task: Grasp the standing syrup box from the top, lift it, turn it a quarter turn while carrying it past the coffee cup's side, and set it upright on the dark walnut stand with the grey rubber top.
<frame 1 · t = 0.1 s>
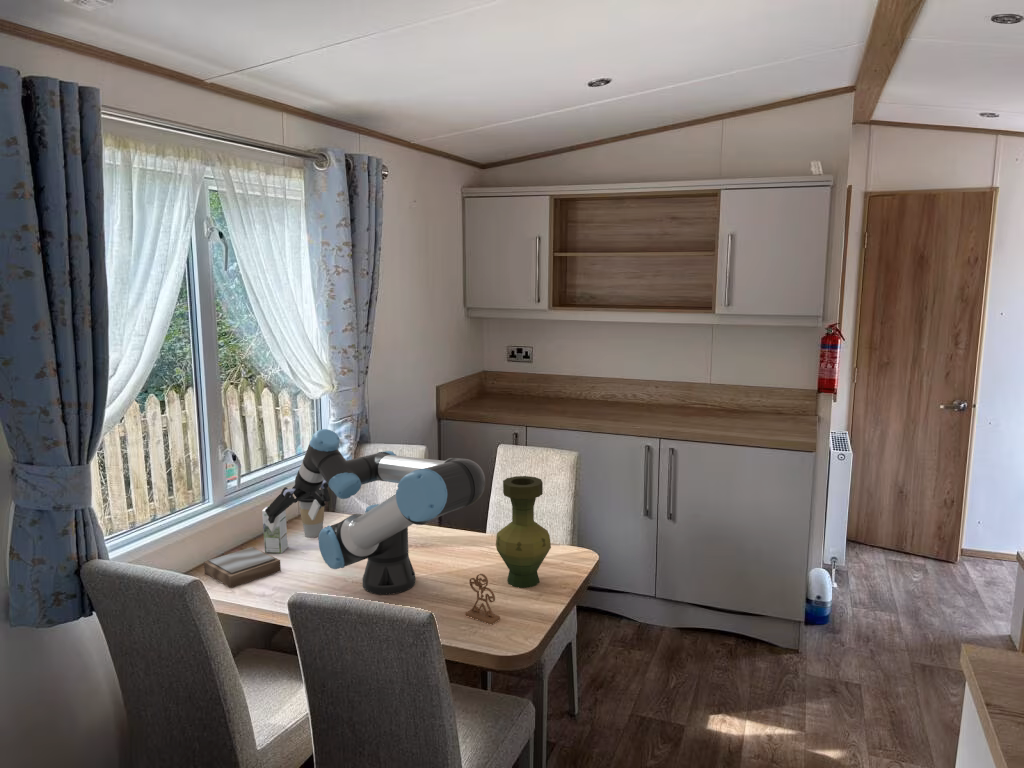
hand: (291, 522, 227), 15 cm above the table, tool tilted 35°, fingers open, 13 cm apart
gingerbread man figurine: (482, 618, 199), on the table
vase: (523, 581, 221), on the table
stand: (242, 571, 229), on the table
coffee cup: (313, 535, 260), on the table
syrup box: (276, 550, 246), on the table
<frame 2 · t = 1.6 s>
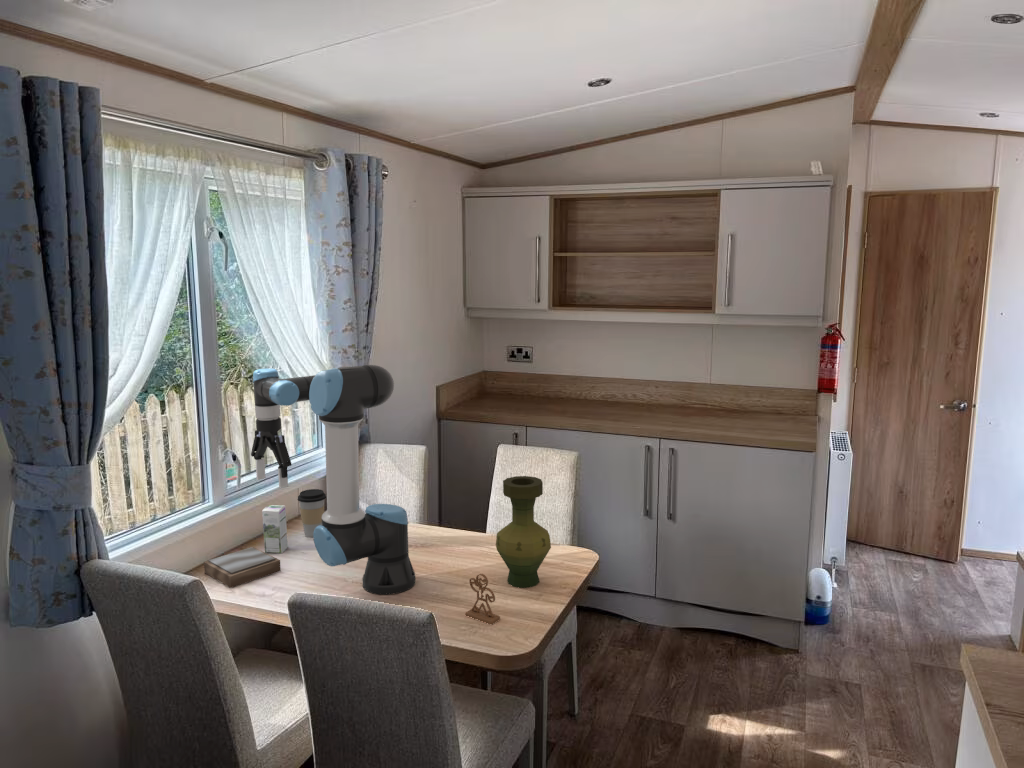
hand: (272, 483, 242), 23 cm above the table, tool pointing down, fingers open, 13 cm apart
nothing on the table moved.
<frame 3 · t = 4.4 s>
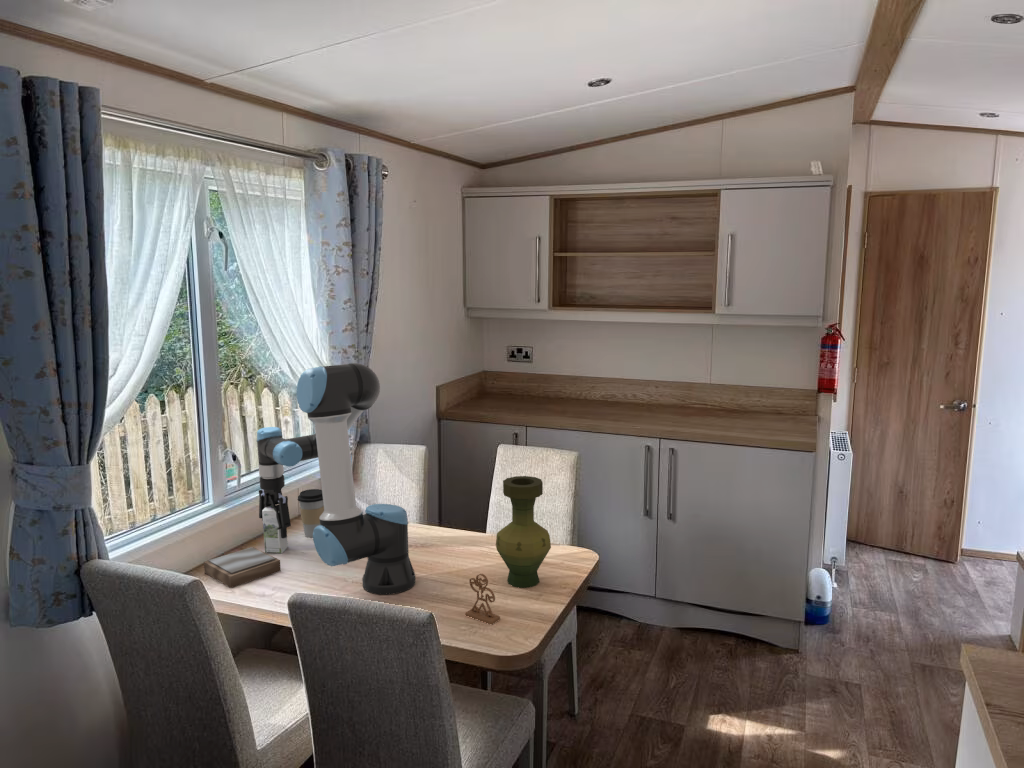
hand: (276, 543, 246), 2 cm above the table, tool pointing down, fingers closed on syrup box, 8 cm apart
syrup box: (276, 550, 246), on the table, touching gripper
everything else where it was.
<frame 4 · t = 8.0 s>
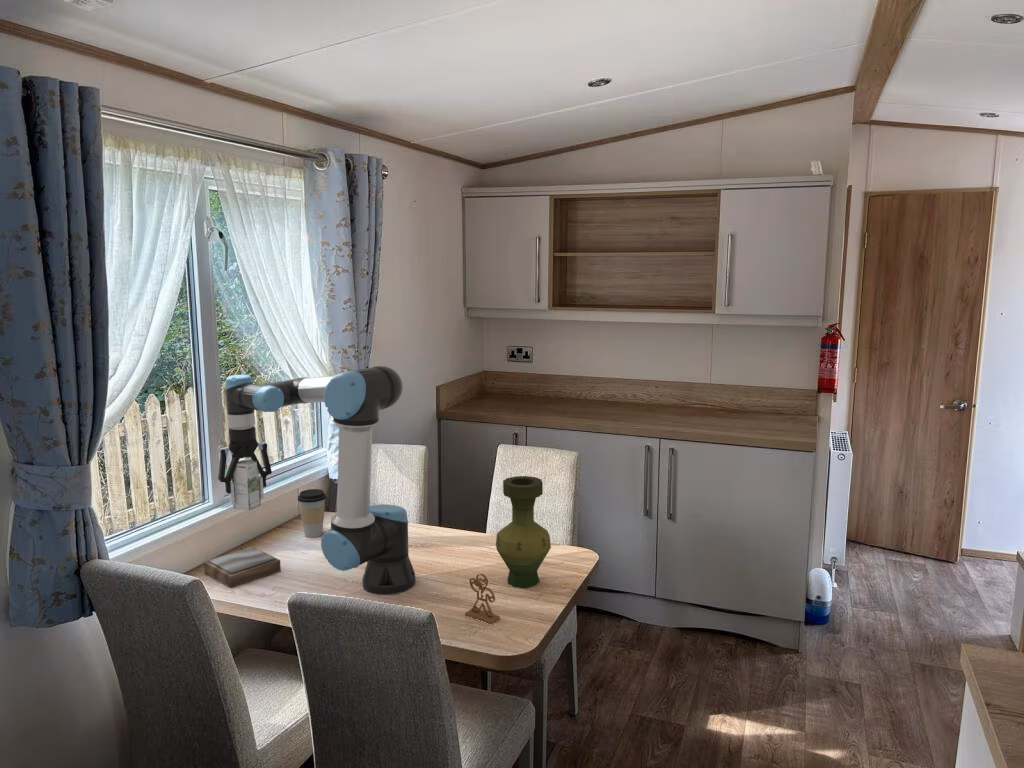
hand: (247, 500, 230), 21 cm above the table, tool pointing down, fingers closed on syrup box, 8 cm apart
syrup box: (247, 508, 230), point 19 cm above the table, touching gripper
everything else where it was.
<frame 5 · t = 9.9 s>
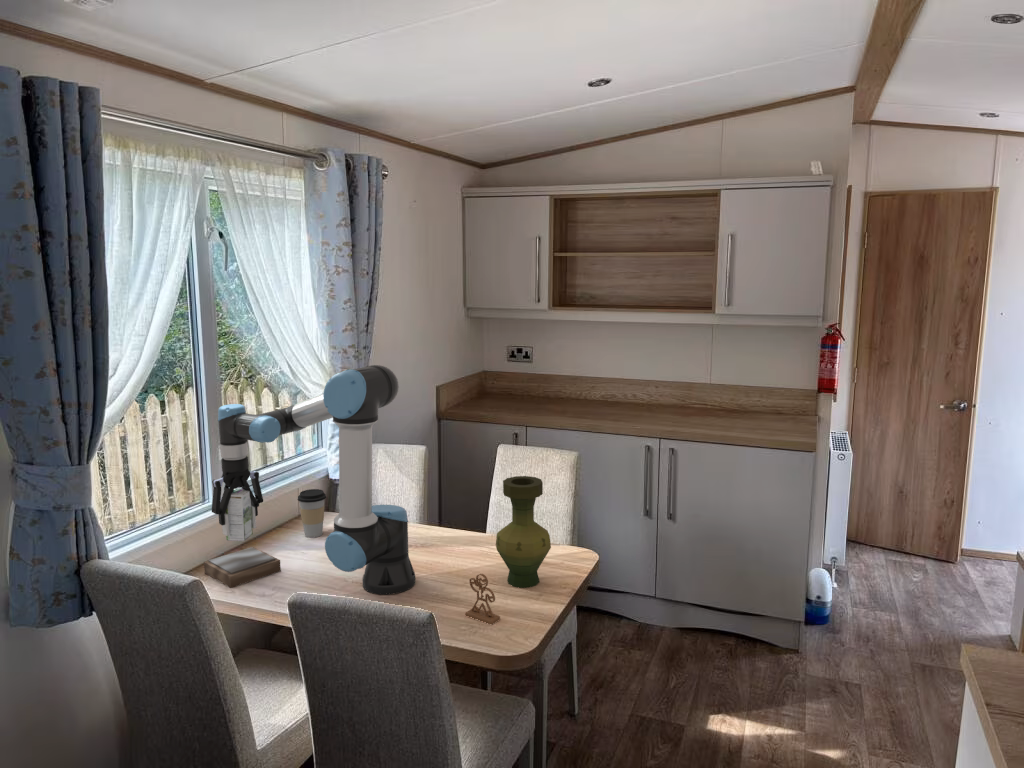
hand: (239, 530, 227), 13 cm above the table, tool pointing down, fingers closed on syrup box, 8 cm apart
syrup box: (240, 538, 227), point 11 cm above the table, touching gripper
everything else where it was.
when the fingers open (8 cm above the table, at t = 11.7 s): syrup box drops 1 cm, resting on stand.
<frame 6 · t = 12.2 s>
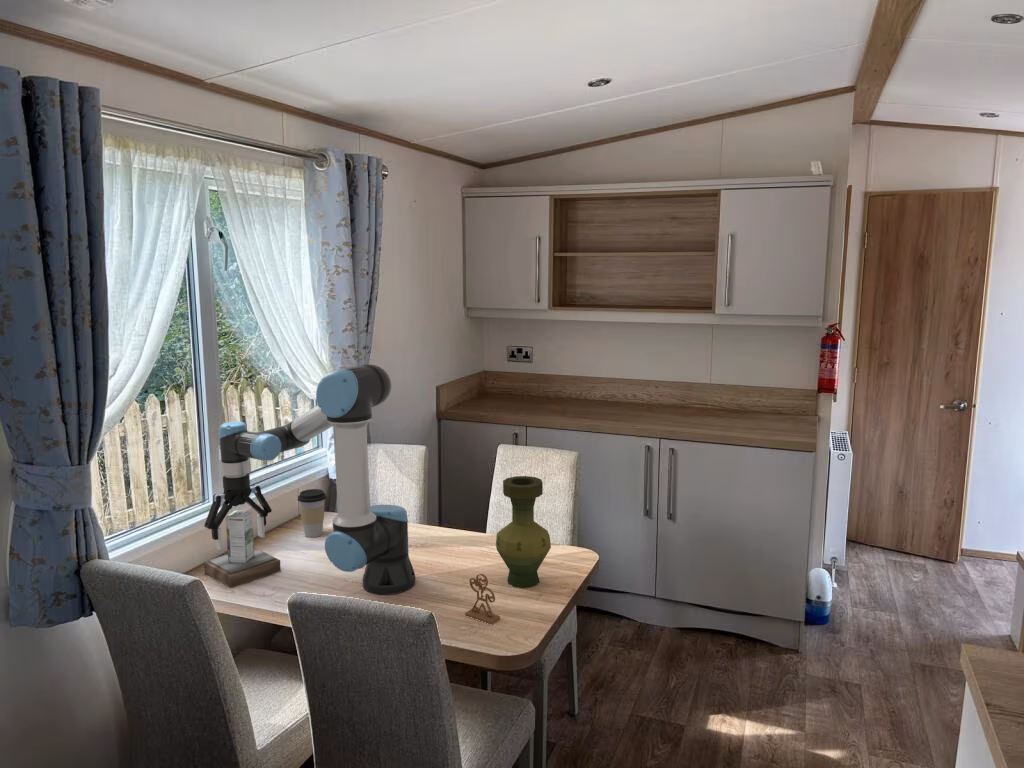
hand: (240, 542, 227), 9 cm above the table, tool pointing down, fingers open, 13 cm apart
syrup box: (241, 560, 228), point 4 cm above the table, touching stand
everything else where it was.
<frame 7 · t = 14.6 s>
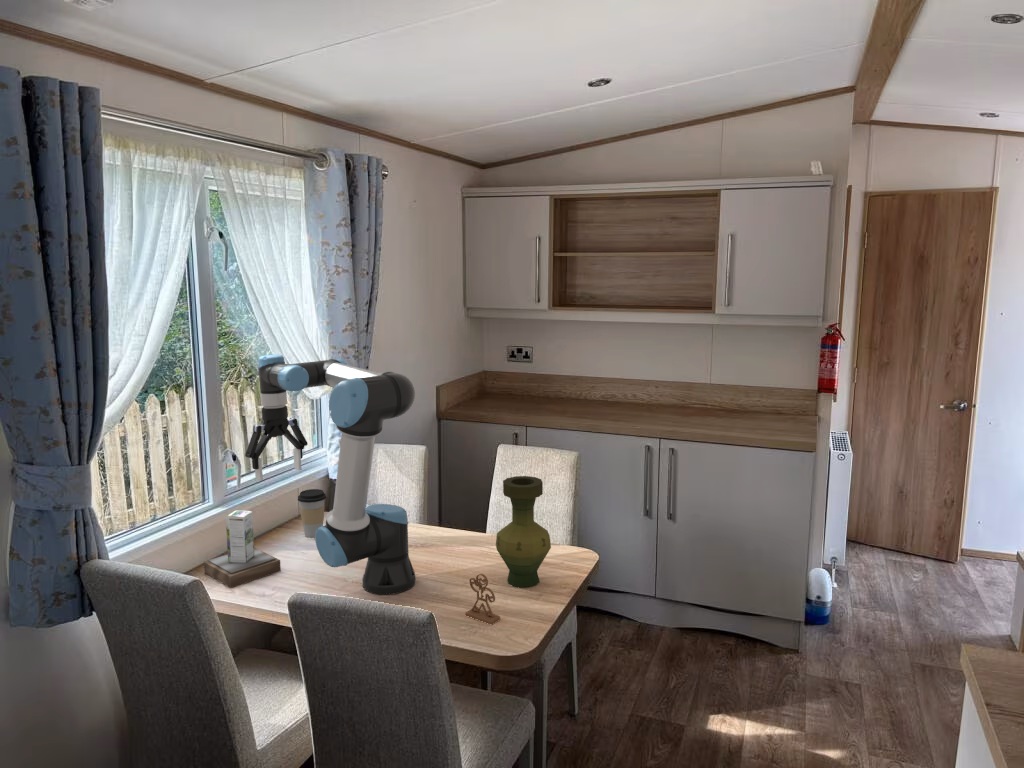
hand: (279, 474, 232), 28 cm above the table, tool pointing down, fingers open, 13 cm apart
nothing on the table moved.
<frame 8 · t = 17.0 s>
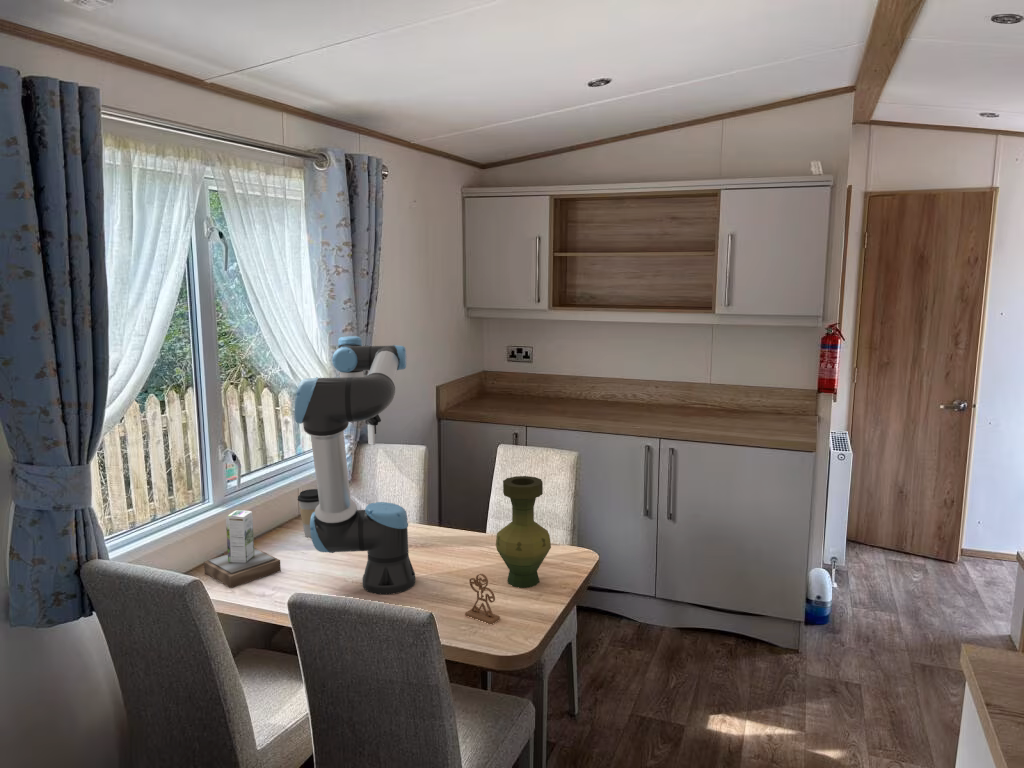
hand: (354, 448, 249), 32 cm above the table, tool pointing down, fingers open, 13 cm apart
nothing on the table moved.
at the end: syrup box inside the target area on the stand (0.0 cm from its centre), point 3.8 cm above the stand's base; syrup box tilted 0°; the gripper is holding nothing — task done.
